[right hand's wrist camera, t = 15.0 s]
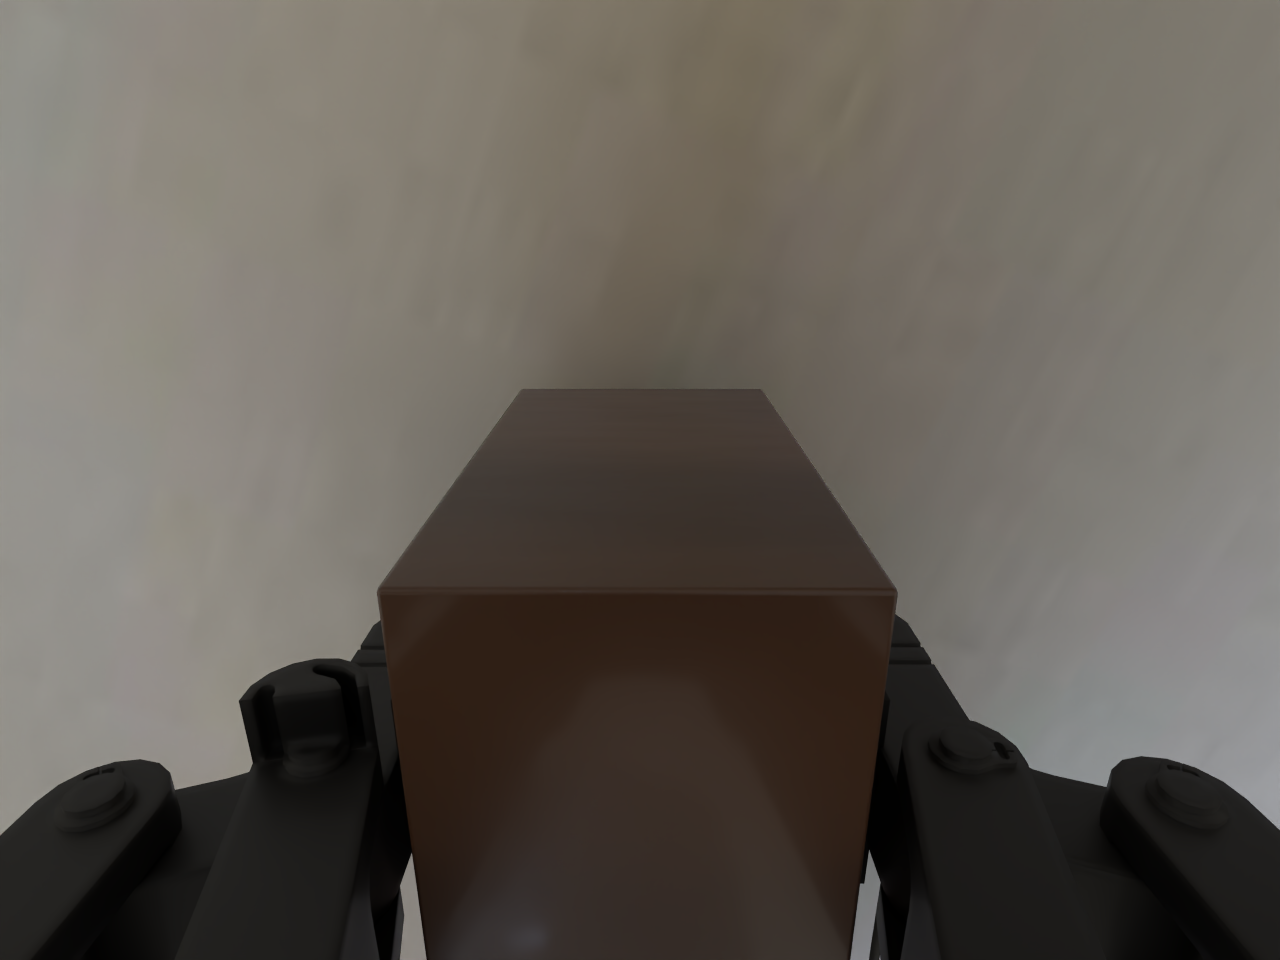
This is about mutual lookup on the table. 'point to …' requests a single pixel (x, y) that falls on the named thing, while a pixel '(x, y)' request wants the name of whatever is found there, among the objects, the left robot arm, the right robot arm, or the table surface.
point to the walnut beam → (638, 687)
